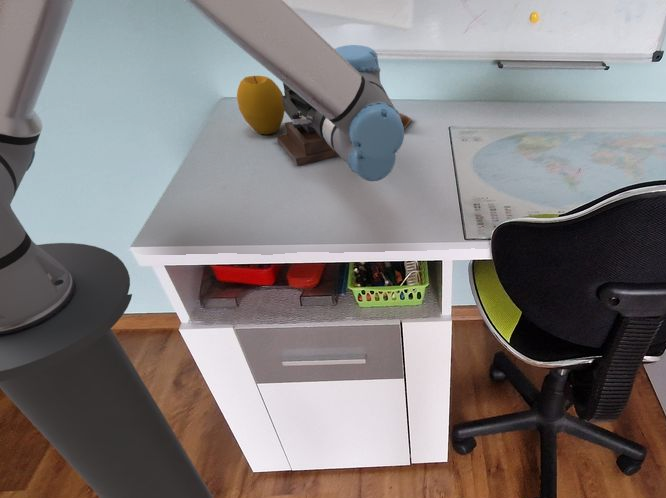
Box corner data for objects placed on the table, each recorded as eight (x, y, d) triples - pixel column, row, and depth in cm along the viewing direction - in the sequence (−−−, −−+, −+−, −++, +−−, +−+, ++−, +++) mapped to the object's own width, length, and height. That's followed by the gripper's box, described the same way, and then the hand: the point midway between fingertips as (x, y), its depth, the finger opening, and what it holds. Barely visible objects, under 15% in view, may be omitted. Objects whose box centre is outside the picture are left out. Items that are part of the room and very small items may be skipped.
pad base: (297, 165, 110) (293, 146, 107) (277, 142, 117) (273, 124, 114) (351, 152, 115) (349, 134, 112) (329, 131, 122) (326, 113, 119)
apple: (288, 120, 125) (277, 65, 117) (292, 137, 119) (281, 82, 111) (244, 124, 123) (230, 69, 115) (246, 142, 117) (231, 85, 108)
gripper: (300, 158, 97) (260, 111, 111) (383, 138, 104) (335, 96, 117) (292, 116, 92) (250, 72, 105) (380, 98, 98) (330, 59, 112)
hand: (295, 85), depth 111 cm, fingers closed on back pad, 3 cm apart
